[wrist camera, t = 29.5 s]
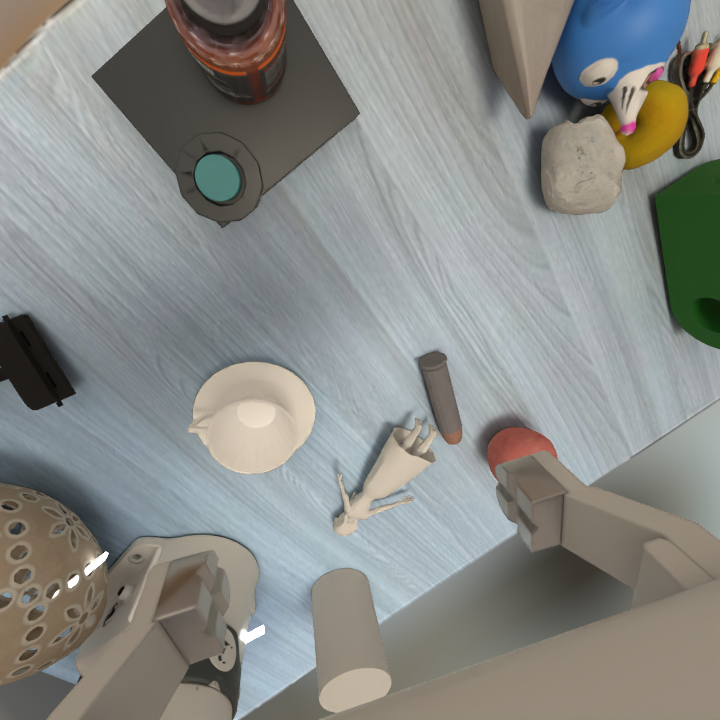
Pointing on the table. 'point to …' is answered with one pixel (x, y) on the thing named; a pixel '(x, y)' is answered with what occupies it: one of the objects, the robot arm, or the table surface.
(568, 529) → the robot arm
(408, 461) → the woman figurine
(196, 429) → the teacup
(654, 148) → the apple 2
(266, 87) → the supplement bottle
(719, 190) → the slotted cylinder bracket
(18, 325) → the track light
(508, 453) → the apple
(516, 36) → the grey wedge
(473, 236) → the table surface
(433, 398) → the grey cylindrical rod
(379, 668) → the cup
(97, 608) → the ornament
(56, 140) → the table surface
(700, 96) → the composite cable
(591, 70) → the blue mole toy
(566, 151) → the pebble
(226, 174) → the button
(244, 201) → the black button pad
